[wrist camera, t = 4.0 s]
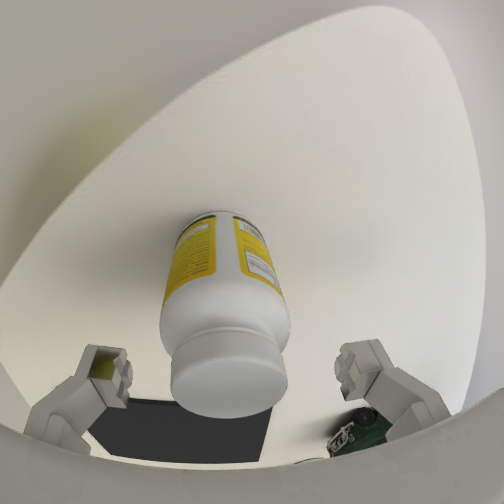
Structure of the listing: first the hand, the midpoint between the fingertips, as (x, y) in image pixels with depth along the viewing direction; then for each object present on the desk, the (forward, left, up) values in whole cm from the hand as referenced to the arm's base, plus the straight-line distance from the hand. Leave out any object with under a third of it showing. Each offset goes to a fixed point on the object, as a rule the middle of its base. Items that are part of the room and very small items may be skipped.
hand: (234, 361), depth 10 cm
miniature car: (+23, -28, -9) cm, 37 cm away
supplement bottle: (0, 0, -9) cm, 9 cm away
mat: (-7, -27, -8) cm, 29 cm away
